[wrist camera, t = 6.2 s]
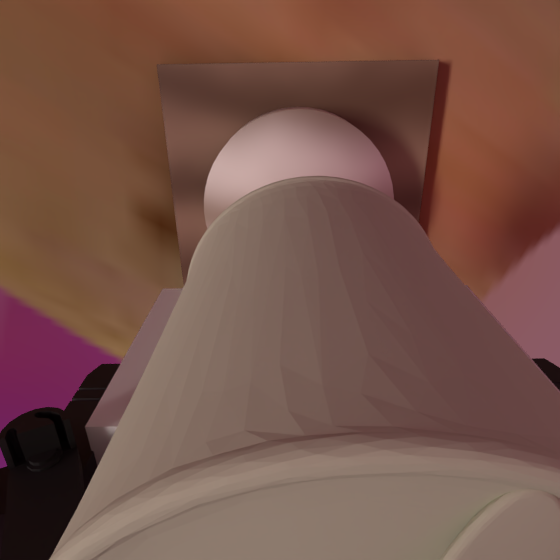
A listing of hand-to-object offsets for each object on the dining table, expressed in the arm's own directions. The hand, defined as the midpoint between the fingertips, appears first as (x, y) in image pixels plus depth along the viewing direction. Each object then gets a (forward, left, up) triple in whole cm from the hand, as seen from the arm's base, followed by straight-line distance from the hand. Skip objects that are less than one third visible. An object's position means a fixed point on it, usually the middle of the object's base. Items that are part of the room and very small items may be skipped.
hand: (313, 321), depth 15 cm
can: (0, 0, -1) cm, 1 cm away
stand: (0, 0, -17) cm, 17 cm away
